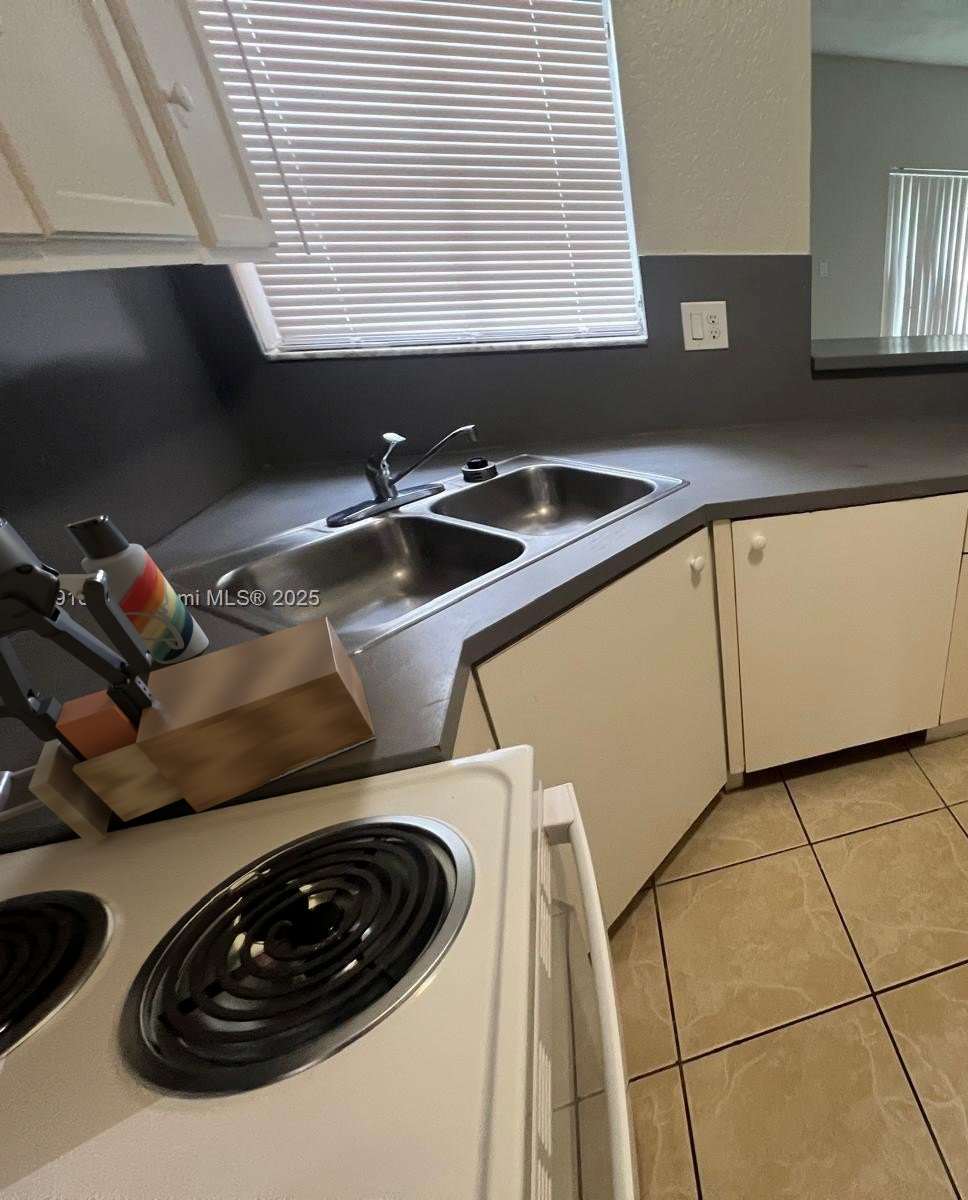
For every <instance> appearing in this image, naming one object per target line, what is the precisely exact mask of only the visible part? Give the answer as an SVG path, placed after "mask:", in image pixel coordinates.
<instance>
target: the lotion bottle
mask: <svg viewBox="0 0 968 1200" xmlns="http://www.w3.org/2000/svg"><path fill="white" fill-rule="evenodd" d="M64 529H65V530H66V531H67V533H68V534H69V536H70V537H71V538H72V540H73V541H74V543H75V544H76V545H77V546H78V548H79V549H80V550H81V552H82V553H83V554H84V556H85V557H84V558H83V559H82V560H81V561H80V564H81V567H82V569H83V570H84V571H85V573H86V574H88V573H89V572H90V571H92V570H102V571H104V572H106V573H107V575H108V583H109V592H110V594H111V595H112V597H113V598H114V599H115V601H116V602H117V604H118V605H119V606H120V608H121V609H122V611H123V612H124V614H125V615H126V616H127V618H128V619H129V621H130V622H131V623H132V625H133V626H134V628H135V629H136V630H137V632H138V633H139V635H140V636H141V637H142V639H143V640H144V642H145V643H146V644H147V646H148V647H149V649H150V650H151V652H152V653H153V658H152V659H154V660H155V661H156V662H157V663H159V664H162V665H171V664H172V665H173V664H178V663H181V662H184V661H187V660H190V659H192V658H194V657H195V656H197V655H199V654H200V653H202V652H203V651H204V650H206V649H207V648H208V646H209V644H210V642H209V639H208V636H206V634H205V632H204V631H203V630H202V628H201V626H200V625H199V624H198V622H197V621H196V620H195V618H194V617H193V615H192V613H190V611H189V609H188V608H187V607H186V605H185V604H184V602H183V601H182V600H181V598H180V597H179V595H178V594H177V593H176V592H175V590H174V589H173V587H172V586H171V584H170V583H169V581H168V580H167V579H166V577H165V576H164V575H163V573H162V571H161V570H160V569H159V567H158V566H157V565H156V563H155V562H154V560H153V559H152V558H151V556H150V555H149V553H148V552H147V550H145V547H143V546H142V545H140V544H138V543H130V542H129V541H128V540H127V539H126V537H125V536H124V534H123V533H122V532H121V530H120V529H119V528H118V526H117V525H116V524H115V522H114V521H113V520H112V518H111V517H110V515H108V514H107V513H101V514H96V515H94V516H89V517H88V518H84V519H80V520H77V521H73V522H70V523H67V524H65V525H64Z"/></svg>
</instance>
